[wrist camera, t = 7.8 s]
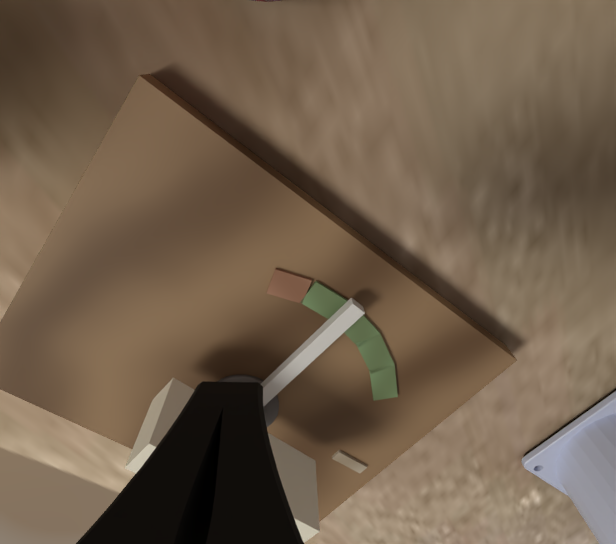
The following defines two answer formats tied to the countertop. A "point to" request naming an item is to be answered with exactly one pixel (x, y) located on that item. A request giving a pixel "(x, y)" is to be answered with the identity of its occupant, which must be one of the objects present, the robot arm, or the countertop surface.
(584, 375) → the countertop surface
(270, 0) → the soda can
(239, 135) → the countertop surface
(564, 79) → the countertop surface
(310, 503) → the tuning key
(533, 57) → the countertop surface
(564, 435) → the robot arm
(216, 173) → the brown dial board
